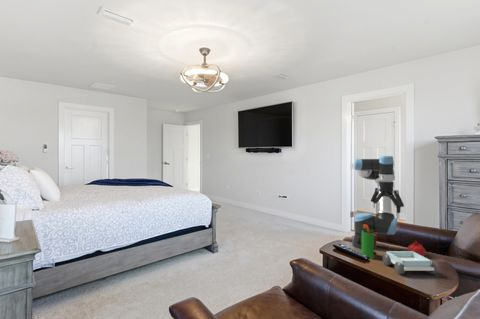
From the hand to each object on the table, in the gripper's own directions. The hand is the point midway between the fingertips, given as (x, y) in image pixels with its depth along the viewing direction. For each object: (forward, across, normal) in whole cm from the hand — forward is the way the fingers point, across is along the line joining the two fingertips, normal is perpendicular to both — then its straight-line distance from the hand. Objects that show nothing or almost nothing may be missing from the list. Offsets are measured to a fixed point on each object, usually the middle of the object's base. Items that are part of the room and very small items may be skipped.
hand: (386, 215), depth 156 cm
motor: (+28, -10, -3) cm, 30 cm away
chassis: (+28, +13, 0) cm, 31 cm away
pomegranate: (+29, +1, +27) cm, 39 cm away
